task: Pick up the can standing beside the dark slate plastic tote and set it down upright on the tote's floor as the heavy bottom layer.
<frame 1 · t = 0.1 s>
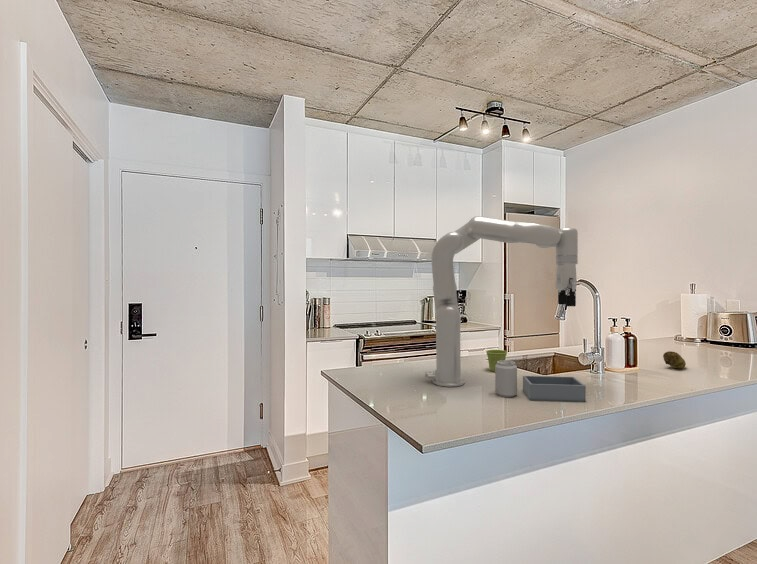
hand: (566, 305, 160), 31 cm above the countertop, tool pointing down, fingers open, 9 cm apart
avocado: (675, 368, 188), on the countertop
can: (506, 395, 150), on the countertop
plant pot: (496, 371, 187), on the countertop
tote: (552, 395, 148), on the countertop
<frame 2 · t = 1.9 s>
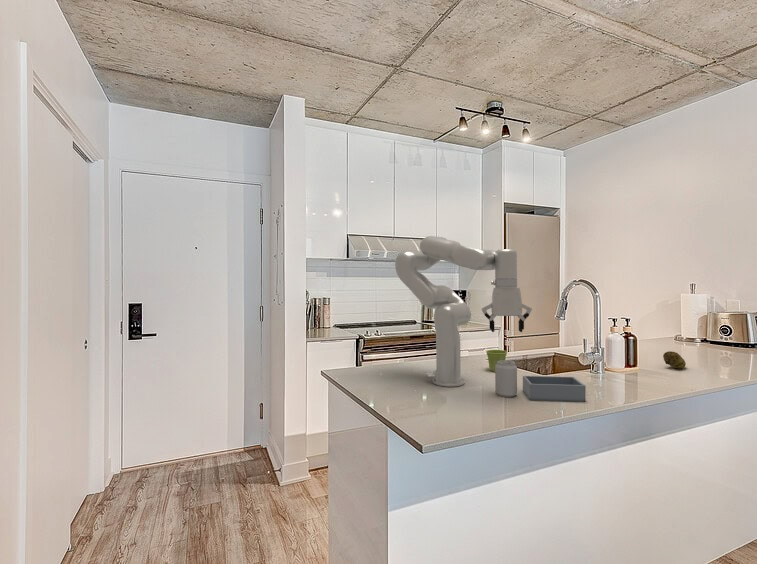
hand: (506, 331, 150), 23 cm above the countertop, tool pointing down, fingers open, 9 cm apart
nothing on the countertop moved.
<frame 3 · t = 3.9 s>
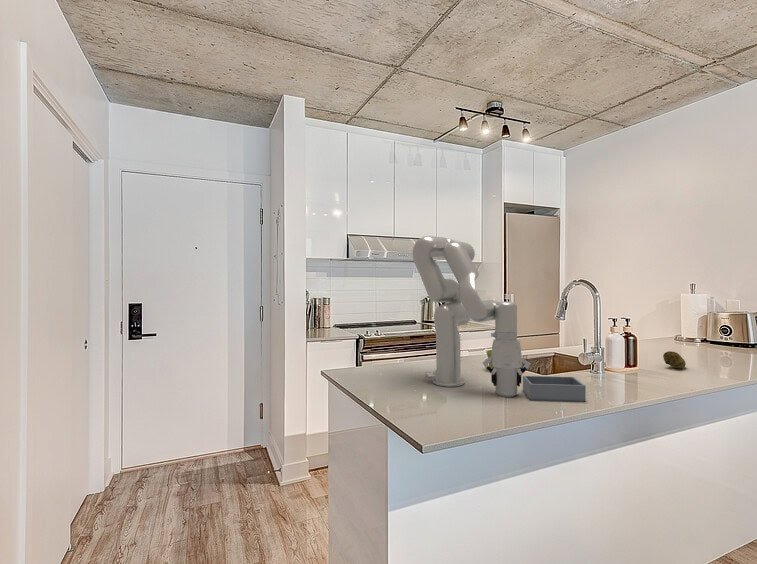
hand: (506, 384, 150), 4 cm above the countertop, tool pointing down, fingers closed on can, 7 cm apart
can: (506, 395, 150), on the countertop, touching gripper
everything else where it was.
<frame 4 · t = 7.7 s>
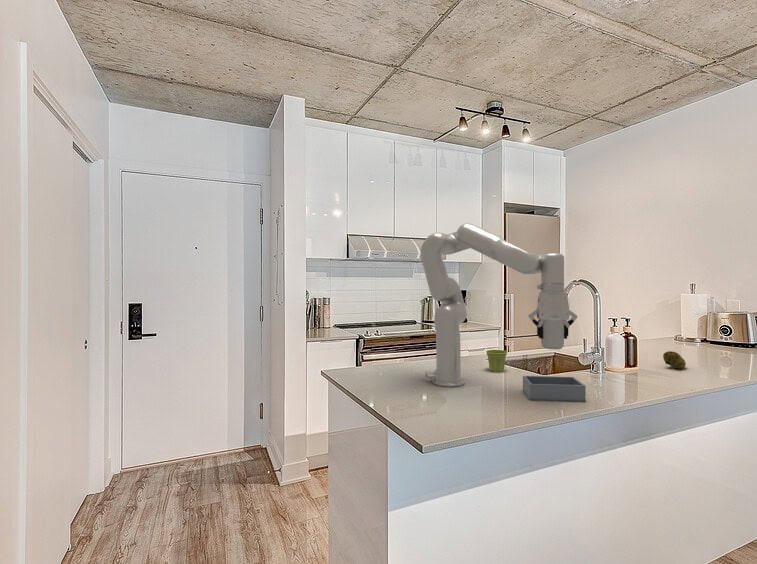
hand: (552, 337, 148), 21 cm above the countertop, tool pointing down, fingers closed on can, 7 cm apart
can: (552, 348, 148), point 17 cm above the countertop, touching gripper
everything else where it was.
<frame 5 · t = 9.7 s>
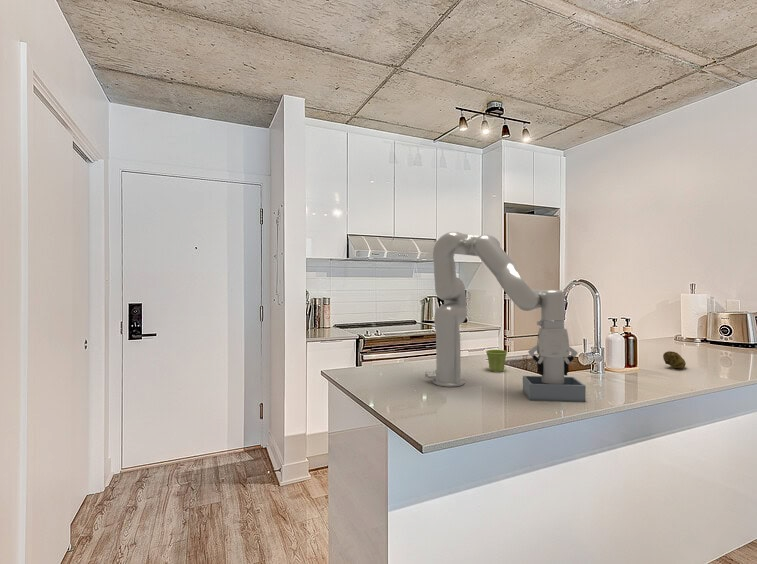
hand: (552, 374, 148), 8 cm above the countertop, tool pointing down, fingers closed on can, 7 cm apart
can: (552, 384, 148), point 4 cm above the countertop, touching gripper
everything else where it was.
when the fingers open (6 cm above the countertop, at t = 11.3 s): can drops 1 cm, resting on tote.
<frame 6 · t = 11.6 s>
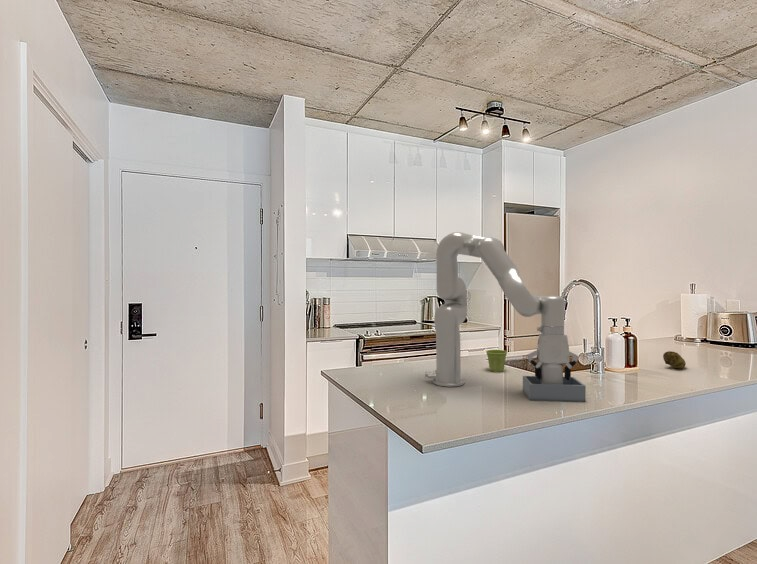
hand: (552, 378, 148), 6 cm above the countertop, tool pointing down, fingers open, 9 cm apart
can: (551, 394, 148), resting on tote
everything else where it was.
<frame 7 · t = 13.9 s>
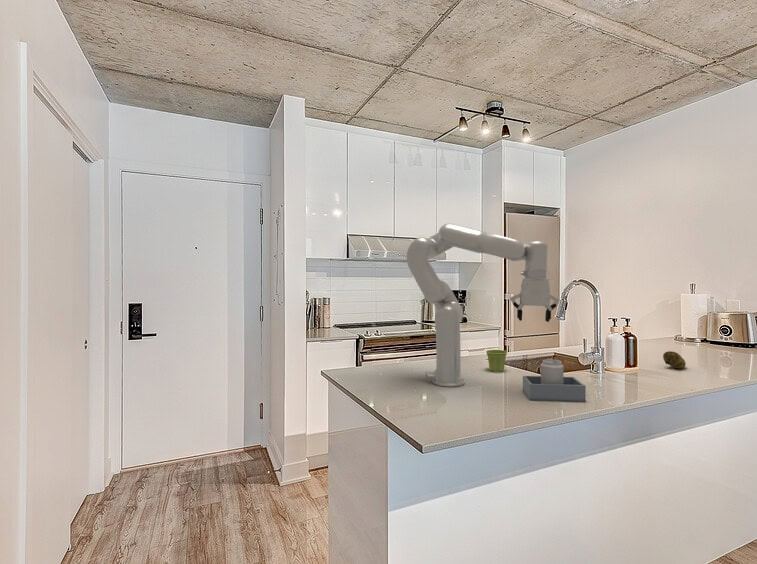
hand: (533, 320, 156), 26 cm above the countertop, tool pointing down, fingers open, 9 cm apart
nothing on the countertop moved.
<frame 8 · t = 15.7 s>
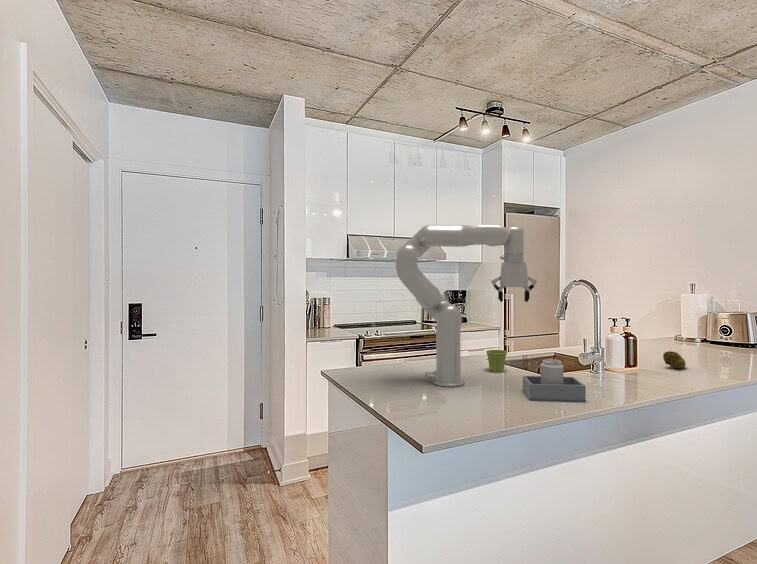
hand: (513, 301, 167), 32 cm above the countertop, tool pointing down, fingers open, 9 cm apart
nothing on the countertop moved.
at the end: can 0.2 cm off-centre on the tote, point 0.4 cm above the tote's base; can tilted 0°; the gripper is holding nothing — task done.
